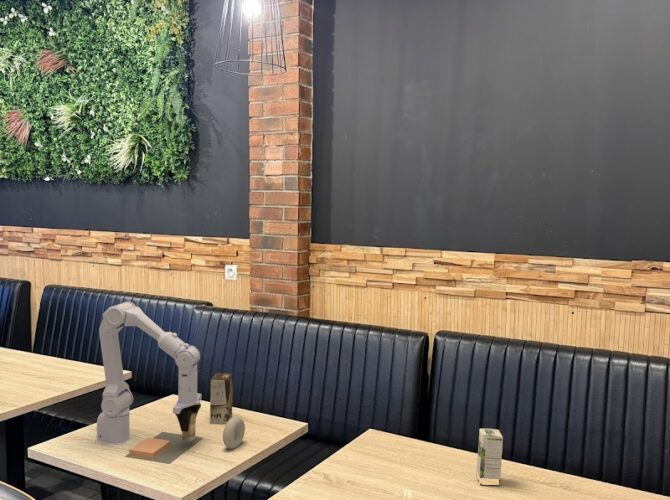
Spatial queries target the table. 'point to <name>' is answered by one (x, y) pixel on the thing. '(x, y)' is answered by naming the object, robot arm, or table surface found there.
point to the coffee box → (221, 398)
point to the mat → (172, 447)
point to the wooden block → (190, 429)
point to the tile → (149, 448)
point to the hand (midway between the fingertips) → (187, 429)
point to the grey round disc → (233, 432)
